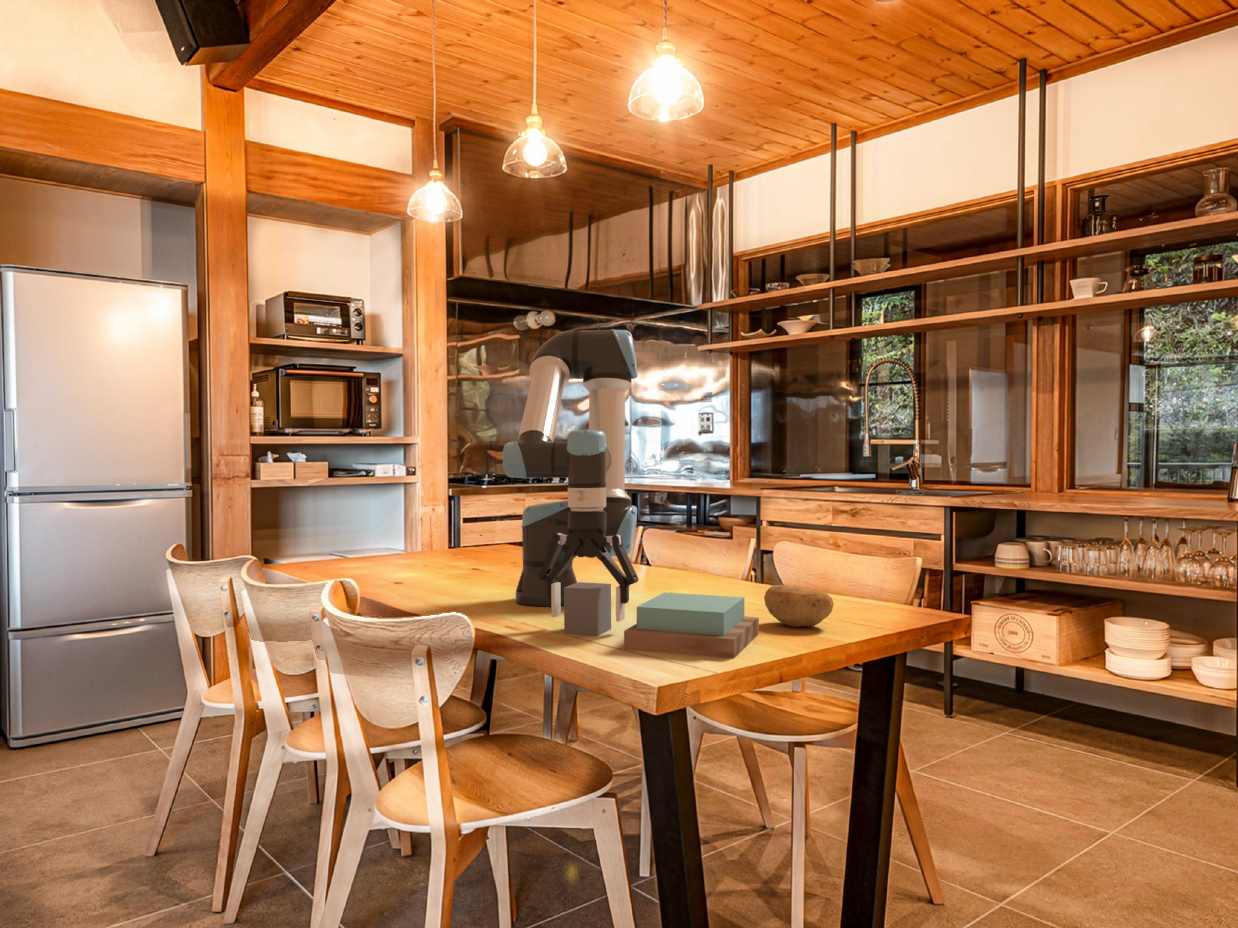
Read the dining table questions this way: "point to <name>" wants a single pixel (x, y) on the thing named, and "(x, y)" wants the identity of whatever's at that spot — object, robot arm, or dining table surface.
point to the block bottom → (694, 640)
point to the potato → (798, 605)
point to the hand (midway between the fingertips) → (587, 618)
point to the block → (587, 608)
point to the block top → (691, 613)
